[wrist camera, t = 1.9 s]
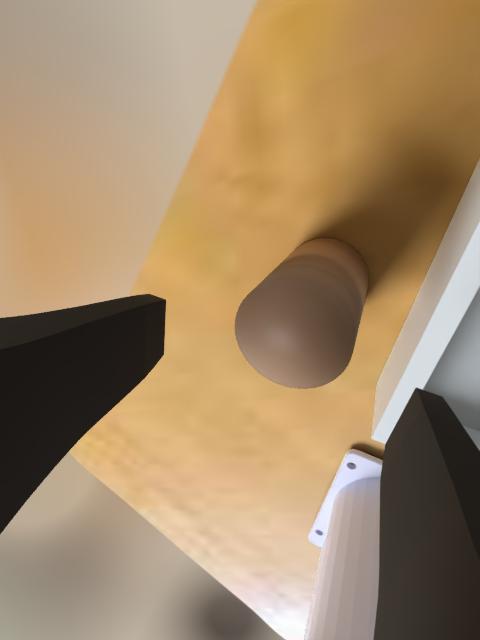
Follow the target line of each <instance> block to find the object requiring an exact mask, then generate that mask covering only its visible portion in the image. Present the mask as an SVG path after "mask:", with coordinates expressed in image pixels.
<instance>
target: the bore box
mask: <svg viewBox="0 0 480 640" xmlns="http://www.w3.org/2000/svg"><path fill="white" fill-rule="evenodd" d="M415 388H419V389H422V390H425V391H428V392H431V393H434V394H436V395H439V396H442V397H443V398H444V399H445V401H446V402H447V403H448V405H449V406H450V408H451V409H452V411H453V412H454V414H455V415H456V417H457V418H458V419H459V421H460V422H461V424H462V425H463V427H464V428H465V430H466V431H467V433H468V434H469V436H470V437H471V439H472V440H473V442H474V443H475V445H476V446H477V448H478V449H479V450H480V159H479V161H478V163H477V165H476V167H475V170H474V172H473V174H472V176H471V178H470V180H469V183H468V185H467V187H466V189H465V191H464V194H463V196H462V198H461V200H460V202H459V205H458V207H457V209H456V211H455V213H454V216H453V218H452V220H451V222H450V224H449V226H448V229H447V231H446V233H445V235H444V237H443V240H442V242H441V244H440V246H439V248H438V251H437V253H436V255H435V257H434V259H433V261H432V264H431V266H430V268H429V270H428V272H427V275H426V277H425V279H424V281H423V283H422V286H421V288H420V290H419V292H418V294H417V297H416V299H415V301H414V303H413V305H412V307H411V310H410V312H409V314H408V316H407V318H406V321H405V323H404V325H403V327H402V329H401V332H400V334H399V336H398V338H397V340H396V343H395V345H394V347H393V349H392V351H391V353H390V356H389V358H388V360H387V362H386V364H385V367H384V369H383V371H382V373H381V375H380V378H379V380H378V382H377V386H376V396H375V406H374V416H373V426H372V436H371V439H373V440H376V441H378V442H381V443H383V444H386V442H387V440H388V438H389V436H390V434H391V433H392V431H393V429H394V427H395V425H396V423H397V421H398V419H399V418H400V416H401V414H402V412H403V410H404V408H405V406H406V405H407V403H408V401H409V399H410V397H411V395H412V393H413V392H414V390H415Z"/></svg>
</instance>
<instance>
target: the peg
mask: <svg viewBox="0 0 480 640" xmlns="http://www.w3.org/2000/svg"><path fill="white" fill-rule="evenodd" d="M368 284H369V275H368V269H367V266H366V264H365V262H364V260H363V258H362V257H361V255H360V254H359V253H358V252H357V251H356V250H355V249H354V248H353V247H351V246H350V245H348V244H347V243H345V242H343V241H340V240H337V239H332V238H318V239H313V240H310V241H307V242H305V243H303V244H302V245H300V246H299V247H298V248H296V249H295V250H294V251H293V252H292V253H291V254H290V255H289V256H288V257H287V258H286V259H285V260H284V261H283V262H282V263H281V264H280V265H279V266H278V267H276V268H275V269H274V270H273V271H272V272H271V273H270V274H269V275H268V276H267V277H266V278H265V279H264V280H263V281H262V282H261V283H260V284H259V285H258V286H257V287H256V288H254V289H253V290H252V291H251V292H250V293H249V294H248V295H247V296H246V298H245V299H244V300H243V301H242V303H241V305H240V306H239V309H238V311H237V315H236V319H235V334H236V339H237V342H238V346H239V348H240V350H241V352H242V354H243V355H244V357H245V359H246V360H247V361H248V363H249V364H250V365H251V366H252V367H253V368H254V369H255V370H256V371H257V372H258V373H260V374H261V375H262V376H264V377H265V378H267V379H269V380H270V381H272V382H275V383H277V384H279V385H283V386H286V387H290V388H298V389H308V388H315V387H319V386H322V385H325V384H327V383H329V382H331V381H333V380H334V379H336V378H337V377H338V376H339V375H340V374H341V373H342V372H343V371H344V370H345V368H346V367H347V366H348V364H349V362H350V360H351V357H352V353H353V349H354V345H355V341H356V337H357V332H358V328H359V324H360V319H361V315H362V311H363V307H364V302H365V298H366V294H367V290H368Z"/></svg>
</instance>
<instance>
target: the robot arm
mask: <svg viewBox="0 0 480 640" xmlns="http://www.w3.org/2000/svg"><path fill="white" fill-rule="evenodd" d="M165 312H166V300H165V299H162V298H159V297H156V296H153V295H151V294H144V295H136V296H130V297H124V298H119V299H114V300H109V301H104V302H99V303H94V304H89V305H84V306H79V307H73V308H67V309H62V310H56V311H50V312H44V313H38V314H31V315H24V316H17V317H6V318H0V534H1V532H2V531H3V530H4V529H5V527H6V526H7V525H8V523H9V522H10V521H11V520H12V519H13V517H14V516H15V515H16V513H17V512H18V511H19V510H20V508H21V507H22V506H23V505H24V503H25V502H26V500H27V499H28V498H29V497H30V496H31V495H32V493H33V492H34V491H35V490H36V489H37V487H38V486H39V485H40V484H41V483H42V481H43V480H44V479H45V478H46V477H47V476H48V474H49V473H50V472H51V471H52V470H53V468H54V467H55V466H56V465H57V464H58V463H59V462H60V460H61V459H62V458H63V457H64V456H65V455H66V454H67V453H68V452H69V450H70V449H71V448H72V447H73V446H74V445H75V444H76V443H77V441H78V440H79V439H80V438H81V437H82V436H83V435H84V434H85V433H86V432H87V431H88V430H89V429H90V428H91V427H93V426H94V425H95V424H96V423H97V422H98V421H99V420H100V419H101V418H102V417H103V416H105V415H106V414H107V413H108V412H109V411H110V410H111V409H112V408H113V407H114V406H115V405H117V404H118V403H119V402H120V401H121V400H122V399H123V398H124V397H125V396H126V395H127V394H128V393H129V392H131V391H132V390H133V389H134V388H135V387H136V386H137V385H138V384H139V383H140V382H141V381H142V380H143V379H144V378H145V377H146V376H147V375H148V374H149V372H150V371H151V370H152V369H153V368H154V366H155V365H156V364H157V362H158V361H159V360H160V359H161V357H162V356H163V355H164V336H165ZM350 462H351V463H354V464H351V463H350ZM308 538H309V540H310V541H311V542H312V543H313V544H315V545H317V546H319V547H321V548H322V549H321V554H320V559H319V564H318V569H317V574H316V579H315V584H314V590H313V595H312V600H311V605H310V610H309V615H308V620H307V625H306V630H305V635H304V640H480V450H479V449H478V448H477V446H476V445H475V443H474V442H473V440H472V439H471V437H470V436H469V434H468V433H467V431H466V430H465V428H464V427H463V425H462V424H461V422H460V421H459V419H458V418H457V417H456V415H455V414H454V412H453V411H452V409H451V408H450V406H449V405H448V403H447V402H446V401H445V399H444V398H443V397H442V396H439V395H436V394H434V393H431V392H428V391H425V390H422V389H419V388H415V390H414V392H413V393H412V395H411V397H410V399H409V401H408V403H407V405H406V406H405V408H404V410H403V412H402V414H401V416H400V418H399V419H398V421H397V423H396V425H395V427H394V429H393V431H392V433H391V434H390V436H389V438H388V440H387V442H386V444H385V450H384V457H383V460H381V459H378V458H376V457H374V456H371V455H369V454H366V453H364V452H362V451H359V450H356V449H350V450H348V451H347V452H346V454H345V456H344V458H343V460H342V463H341V465H340V467H339V469H338V471H337V474H336V476H335V478H334V480H333V482H332V484H331V487H330V489H329V491H328V493H327V495H326V498H325V500H324V502H323V504H322V506H321V508H320V511H319V513H318V515H317V517H316V519H315V521H314V524H313V526H312V528H311V530H310V533H309V537H308Z"/></svg>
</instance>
